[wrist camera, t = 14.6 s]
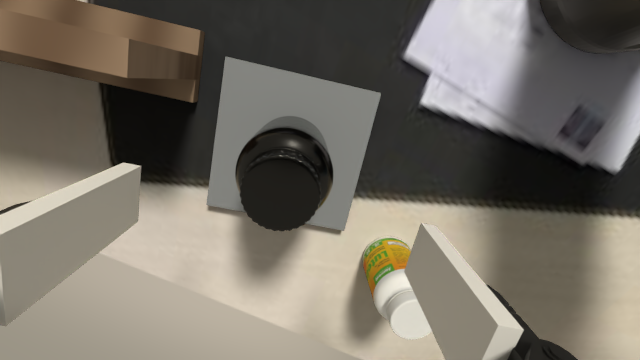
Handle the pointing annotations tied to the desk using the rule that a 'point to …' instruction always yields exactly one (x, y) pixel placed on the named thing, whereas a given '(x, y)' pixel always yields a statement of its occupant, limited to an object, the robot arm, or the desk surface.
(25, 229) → the robot arm
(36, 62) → the walnut screen
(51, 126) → the desk surface
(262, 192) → the supplement bottle
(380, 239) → the supplement bottle
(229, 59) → the slate mat
